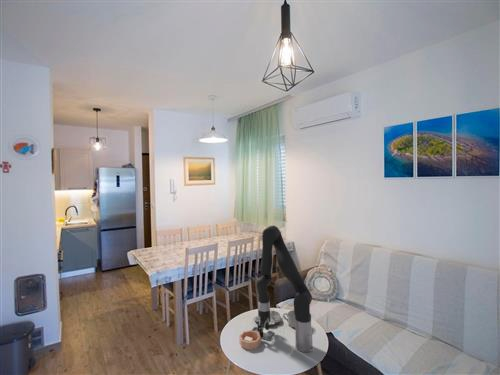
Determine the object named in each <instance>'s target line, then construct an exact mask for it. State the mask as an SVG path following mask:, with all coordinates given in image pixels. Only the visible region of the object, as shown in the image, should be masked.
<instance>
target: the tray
mask: <svg viewBox="0 0 500 375" xmlns="http://www.w3.org/2000/svg"><path fill="white" fill-rule="evenodd" d="M251 330H252V331H256V332H258V333H259V335H260V332H259V331H258V326H253V328H252V329H251ZM274 334H275V332H274V331H273V330H269V336H268V337H267V338H265V337H261V340H264V341H268V342H269V341H270V339H271V338H272V336H273V335H274Z"/></svg>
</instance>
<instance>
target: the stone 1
mask: <svg viewBox="0 0 500 375" xmlns="http://www.w3.org/2000/svg"><path fill="white" fill-rule="evenodd" d="M244 340H245V341H248V342H250V341H253V338H251V337H247V336H246V337H245V338H244Z"/></svg>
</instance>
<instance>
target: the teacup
mask: <svg viewBox="0 0 500 375" xmlns="http://www.w3.org/2000/svg"><path fill="white" fill-rule="evenodd" d="M282 317H283V319H284V320H286V323H288V325H289V326H290V327H291V328H294V329H295V314H294V309H292V310H289V311H288V312H283V314H282Z"/></svg>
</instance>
